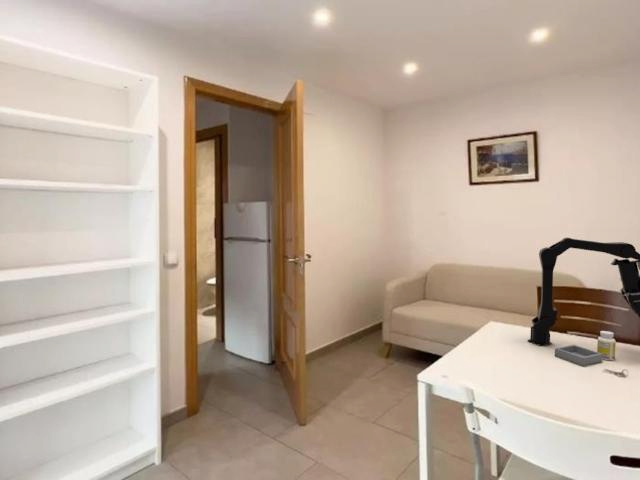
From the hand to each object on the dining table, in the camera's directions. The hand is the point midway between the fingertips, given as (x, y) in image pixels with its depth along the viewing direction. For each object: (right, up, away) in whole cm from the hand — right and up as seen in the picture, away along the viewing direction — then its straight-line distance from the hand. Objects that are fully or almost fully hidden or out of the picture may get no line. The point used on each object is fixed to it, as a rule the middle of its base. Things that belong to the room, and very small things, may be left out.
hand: (639, 316), depth 144 cm
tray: (-25, -15, -2) cm, 29 cm away
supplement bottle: (-14, -16, -1) cm, 21 cm away
